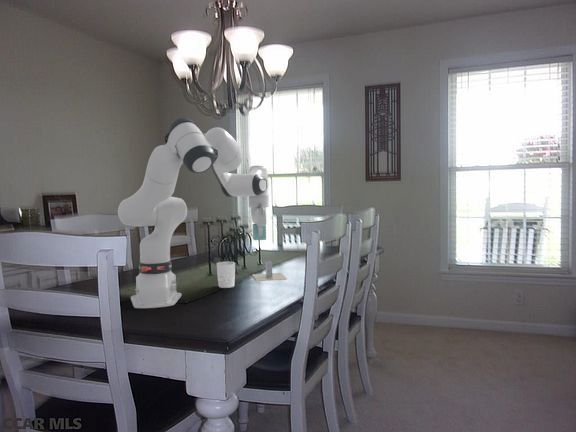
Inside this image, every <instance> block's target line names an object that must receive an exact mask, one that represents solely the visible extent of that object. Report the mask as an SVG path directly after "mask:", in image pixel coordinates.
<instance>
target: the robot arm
mask: <svg viewBox="0 0 576 432" xmlns="http://www.w3.org/2000/svg"><path fill="white" fill-rule="evenodd" d="M164 142H165V144H161V145H158V146H156V147H155V148H154V149H153V150H152V152H151V154H150V157H149V158H148V162H147V164H146V169H145V174H144V179H143V182H142V185H141V186H140V188H139V189H138V190H137V191H136V192H134V193H133V194H132V195H131V196H129V197H127V198H125V199H123V200H122V201H121V202H120V203H119V205H118V208H117V215H118V216H117V217H118V219H119V221H120V222H121V223H122V224H123V225H125V226H128V227H129V226H130V227H136V228H137V227H151V226H152V227H154V230H153V231H152V232H151V233H150V234H148V235H146V236H145V237H143V238H141V240H140V243H139V263H138V269H139V270H138V272H139V274H138V275H137V276H135V282H136V283H135V289H134V292H135V293H136V294H134V295H131V296H130V301H131V303H132V306H133V308H134V309H157V308H167V307H171V306H174V305H176V303H177V302H178V300H180V298H181V297H182V293H181V292H177V291H178V289H177V279H176V278H177V277H176V274H175V273H173V272H172V260H171V240H172V237H173V234H174V232H175V230H176V229H177V228H178V227H179V225H181V224H182V223H183V222H184V221H185V220H186V218H187V215H188V206H187V204H186V202H185V201H184V199H183V198H181V197H180V198H179V197H176V196H173V194H174V193H175V189H176V185H177V180H178V178H179V173H180V169H181V167H182V166H185V168H186V169H187V170H188V171H189V172H191V173H193V174H200V173H201V174H202V173H204V172H206V171H208V170H210V168H211V169H212V172H213V175H214V176H215V178H216V180H217V182H218V184H219V187H220V191H221V192H222V194H223V196H225V197H227V198H235V197H248V208H250V215H251V221H252V224H256V225H258V235H259V236H262V235H263V226H266V227H267V212H266V211H267V208H269V207H270V204H269V203H270V200H269V199H270V198H269V193H268V190H269V175H268V174H269V173H268V170H267V168H266V167H265V166H262V165H252V166H250V167H249V169H248V173H230V172H233V171H235V170H236V169H238V168H239V167H240V166H241V164H242V162H243V159H244V153H243V150H242V148H241V146H240V145H239V143H238V142H237V141H236V139H235V138H234V137H233V136H232V134H230V133H229V132H228V131H227V130H225V129H224V128H222V127H218V126H217V127H213V128H210V129H209V130H207V132H206V133H203V132H202V130H201V129H200V128H199V127H198V124H197V123H196V122H194V121H193V120H192V119H190V118H188V117H180V118H177V119H175V121H173V122H172V123H171V124H170V126H169V128H168V129H167V133H166V134H165V135H164Z"/></svg>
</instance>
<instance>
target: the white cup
mask: <svg viewBox="0 0 576 432" xmlns="http://www.w3.org/2000/svg"><path fill="white" fill-rule="evenodd" d="M216 276H217V283H218V287H219V288H220V289H228V288H229V289H230V288H234V287H235V280H236V262H234V261H220V262H216Z"/></svg>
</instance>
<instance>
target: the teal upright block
mask: <svg viewBox="0 0 576 432" xmlns="http://www.w3.org/2000/svg"><path fill="white" fill-rule="evenodd" d="M252 240H253V241H266V240H267V225H266V226H263V235H262V236H259V235H258V225H256V224H255V223H252Z"/></svg>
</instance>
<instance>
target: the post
mask: <svg viewBox="0 0 576 432" xmlns="http://www.w3.org/2000/svg"><path fill="white" fill-rule="evenodd" d="M251 276H252V277H253V279H254V280H255V281H256V282H261V281H278V280H279V281H280V280H281V281H282V280H287V279H288V278H287V277H286V276H285V275H283V273H282V272H273V262H272V261H265V273H256V274H254V273H253V274H252V275H251Z"/></svg>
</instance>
